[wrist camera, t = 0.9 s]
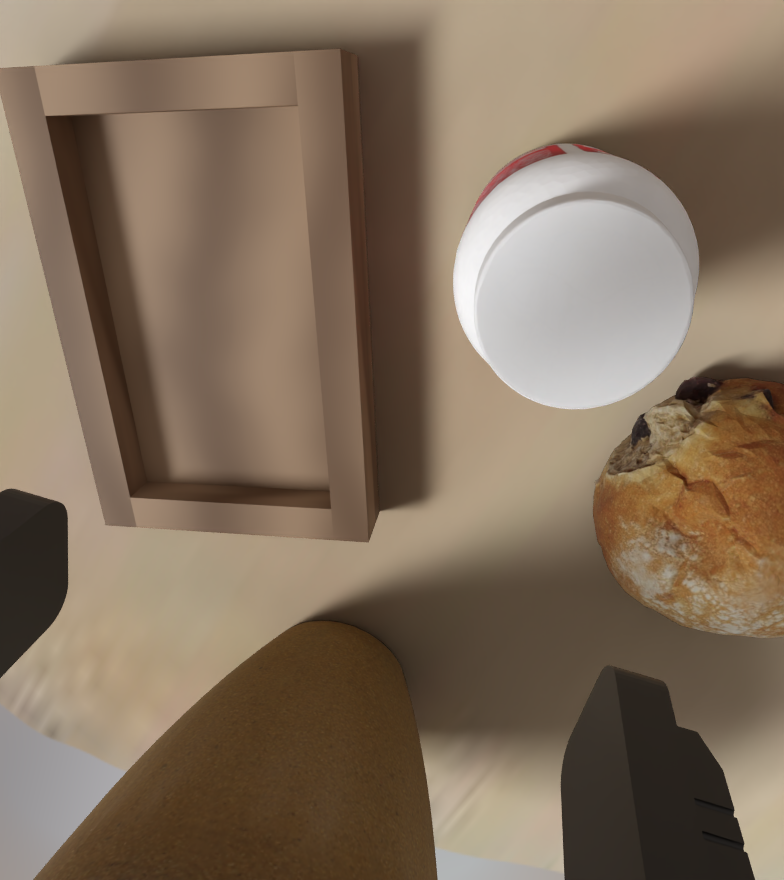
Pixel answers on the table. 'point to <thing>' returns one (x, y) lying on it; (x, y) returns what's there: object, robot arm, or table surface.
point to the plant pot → (274, 777)
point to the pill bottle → (576, 276)
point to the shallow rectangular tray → (209, 284)
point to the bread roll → (701, 508)
